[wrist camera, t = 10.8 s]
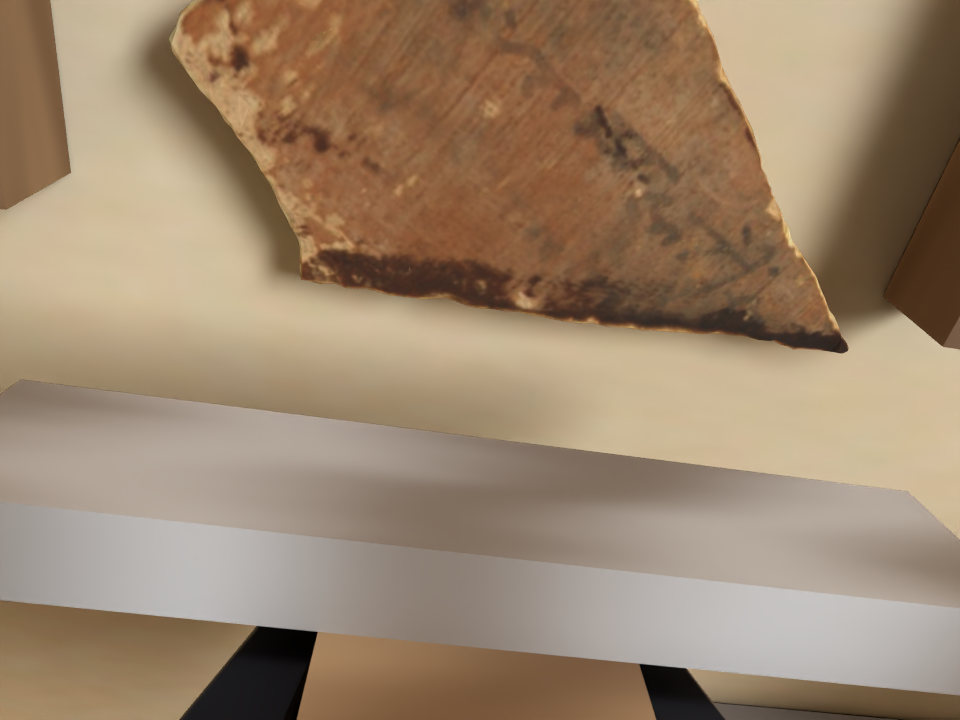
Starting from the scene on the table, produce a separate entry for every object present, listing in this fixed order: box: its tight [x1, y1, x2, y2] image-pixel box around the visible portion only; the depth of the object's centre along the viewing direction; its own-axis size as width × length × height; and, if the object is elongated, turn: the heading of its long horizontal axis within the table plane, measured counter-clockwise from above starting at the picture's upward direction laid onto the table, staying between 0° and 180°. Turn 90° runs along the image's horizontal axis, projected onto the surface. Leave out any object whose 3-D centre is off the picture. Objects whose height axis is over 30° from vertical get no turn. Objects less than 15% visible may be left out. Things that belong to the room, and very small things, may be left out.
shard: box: [169, 0, 849, 353], centre depth 12 cm, size 11×8×2 cm
